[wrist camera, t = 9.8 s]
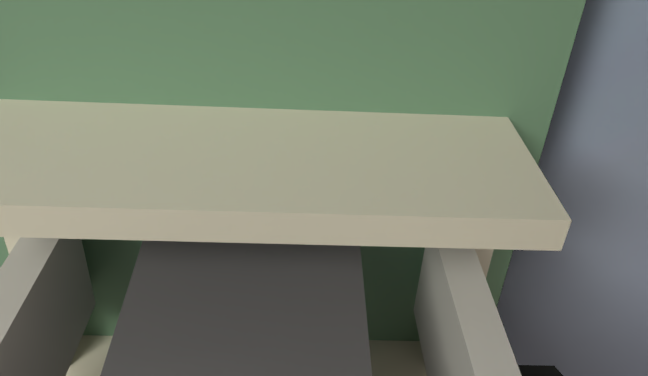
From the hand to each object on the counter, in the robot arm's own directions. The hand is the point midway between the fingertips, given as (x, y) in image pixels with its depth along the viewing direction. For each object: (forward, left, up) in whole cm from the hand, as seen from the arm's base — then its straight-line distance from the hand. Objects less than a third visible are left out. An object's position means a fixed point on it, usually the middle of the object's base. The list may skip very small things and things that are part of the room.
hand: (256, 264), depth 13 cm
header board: (0, 0, -2) cm, 2 cm away
